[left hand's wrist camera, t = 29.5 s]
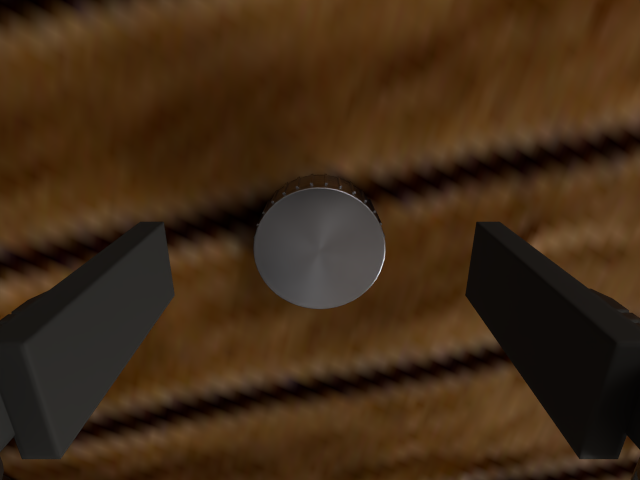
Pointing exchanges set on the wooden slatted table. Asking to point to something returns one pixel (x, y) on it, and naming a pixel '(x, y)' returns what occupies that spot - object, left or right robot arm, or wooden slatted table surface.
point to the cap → (319, 242)
